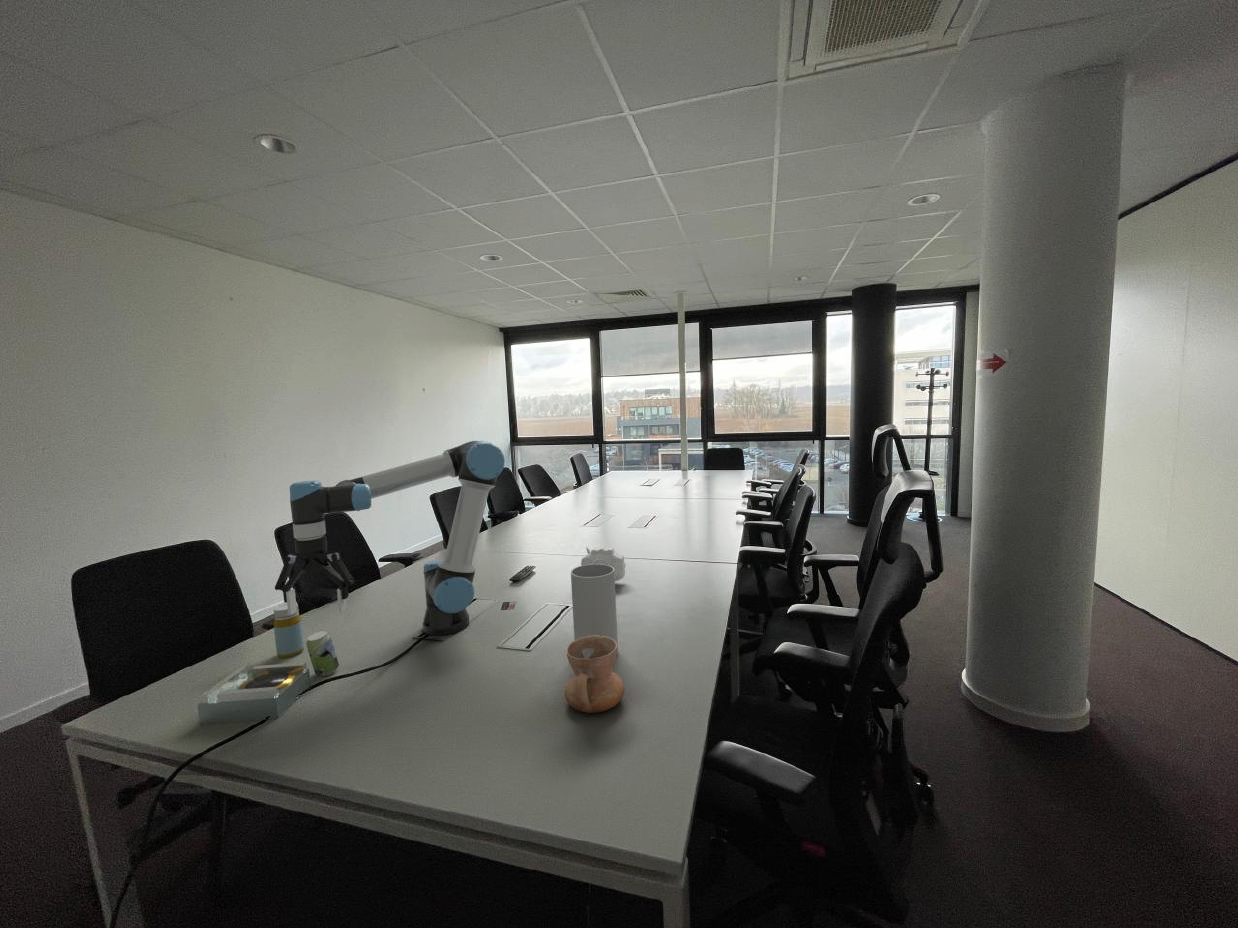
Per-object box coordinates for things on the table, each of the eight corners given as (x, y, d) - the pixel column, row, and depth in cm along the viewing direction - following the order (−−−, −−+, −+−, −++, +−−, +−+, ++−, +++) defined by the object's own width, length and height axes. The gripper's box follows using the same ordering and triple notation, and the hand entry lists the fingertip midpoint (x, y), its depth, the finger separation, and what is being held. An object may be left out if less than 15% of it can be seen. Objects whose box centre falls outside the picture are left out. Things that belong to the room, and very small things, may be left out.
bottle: (290, 659, 149) (285, 611, 148) (271, 658, 151) (266, 610, 149) (309, 648, 156) (304, 602, 155) (291, 647, 157) (286, 602, 156)
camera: (586, 580, 211) (584, 543, 209) (627, 580, 207) (625, 543, 206) (579, 589, 200) (577, 550, 198) (623, 589, 197) (621, 550, 195)
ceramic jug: (580, 679, 130) (577, 628, 128) (633, 685, 125) (630, 632, 124) (551, 722, 113) (546, 663, 111) (611, 730, 108) (607, 669, 107)
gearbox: (311, 686, 132) (308, 661, 132) (278, 718, 118) (275, 690, 118) (241, 691, 131) (238, 666, 131) (200, 724, 117) (196, 696, 117)
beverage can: (344, 668, 142) (340, 628, 141) (321, 681, 135) (317, 639, 134) (328, 665, 144) (323, 626, 143) (304, 678, 137) (300, 637, 136)
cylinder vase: (625, 647, 147) (621, 566, 144) (606, 667, 135) (602, 579, 133) (588, 641, 152) (584, 562, 150) (567, 660, 141) (562, 575, 138)
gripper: (363, 531, 140) (369, 603, 142) (272, 536, 139) (280, 609, 141) (350, 537, 133) (357, 614, 135) (254, 542, 131) (262, 619, 133)
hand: (317, 611), depth 138 cm, fingers open, 13 cm apart
